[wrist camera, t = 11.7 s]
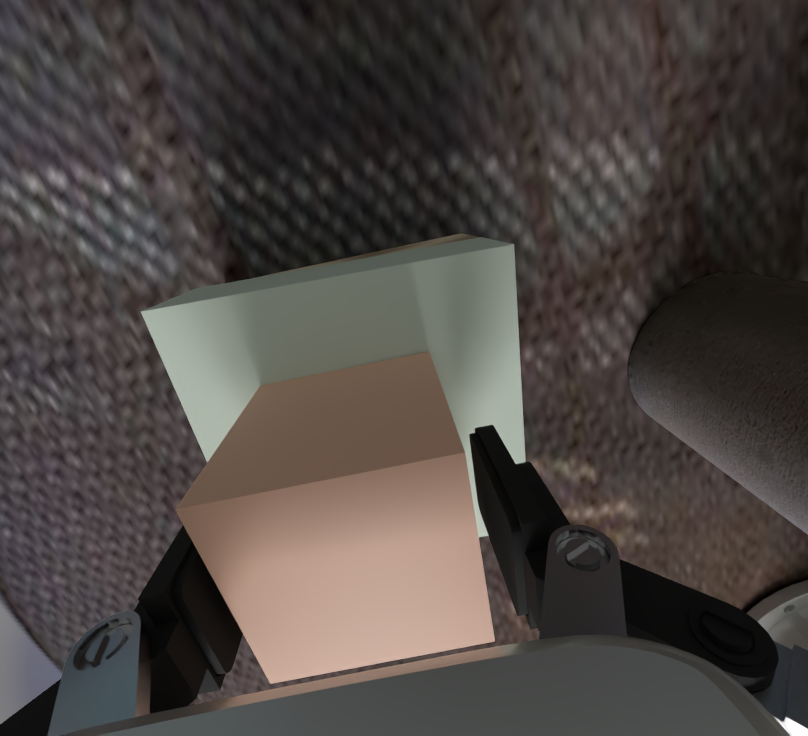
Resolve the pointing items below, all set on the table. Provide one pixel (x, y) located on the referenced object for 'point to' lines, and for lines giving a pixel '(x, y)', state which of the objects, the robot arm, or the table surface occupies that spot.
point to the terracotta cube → (344, 522)
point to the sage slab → (354, 335)
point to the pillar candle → (734, 380)
